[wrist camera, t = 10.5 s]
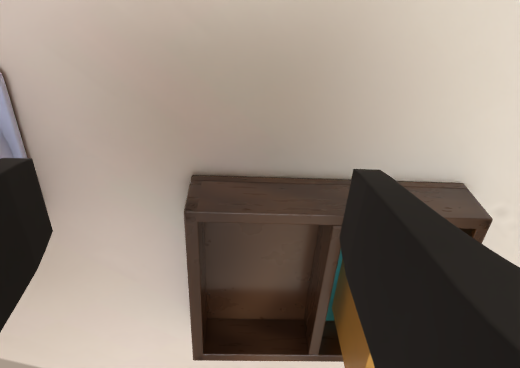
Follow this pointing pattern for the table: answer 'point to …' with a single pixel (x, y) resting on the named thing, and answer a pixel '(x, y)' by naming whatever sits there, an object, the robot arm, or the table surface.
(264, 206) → the organizer
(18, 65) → the table surface
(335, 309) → the carton
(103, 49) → the table surface
